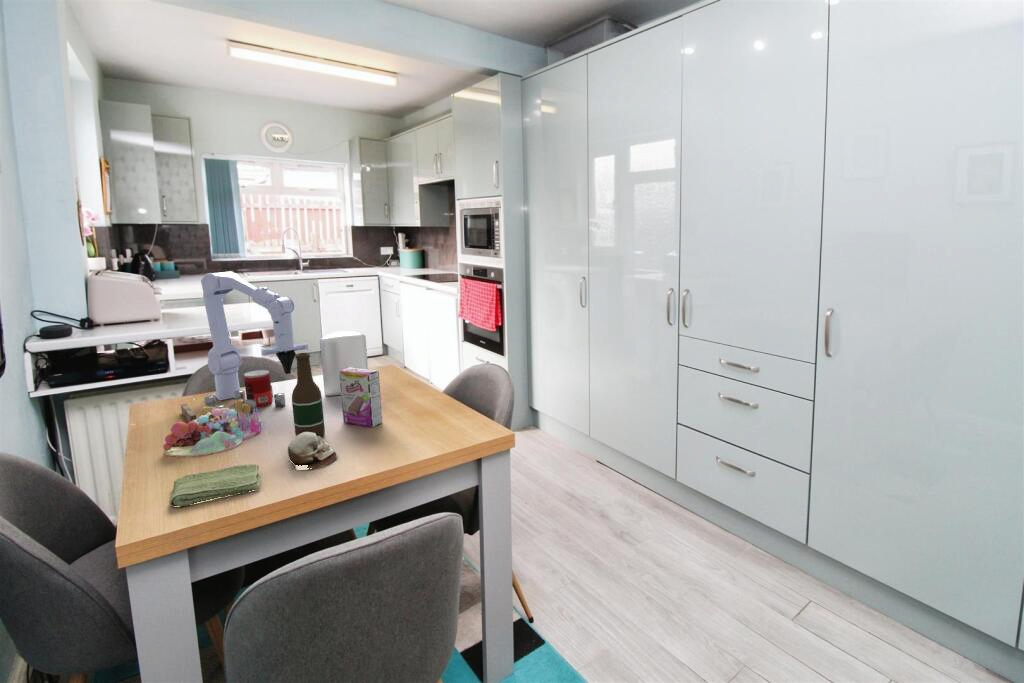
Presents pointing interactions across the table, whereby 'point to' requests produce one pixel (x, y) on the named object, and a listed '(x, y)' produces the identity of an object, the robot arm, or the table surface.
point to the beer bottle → (307, 400)
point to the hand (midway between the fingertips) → (287, 373)
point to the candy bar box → (361, 396)
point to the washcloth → (215, 484)
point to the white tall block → (341, 357)
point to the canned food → (258, 387)
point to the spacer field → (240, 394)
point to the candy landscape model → (213, 431)
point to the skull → (310, 451)
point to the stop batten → (188, 412)
